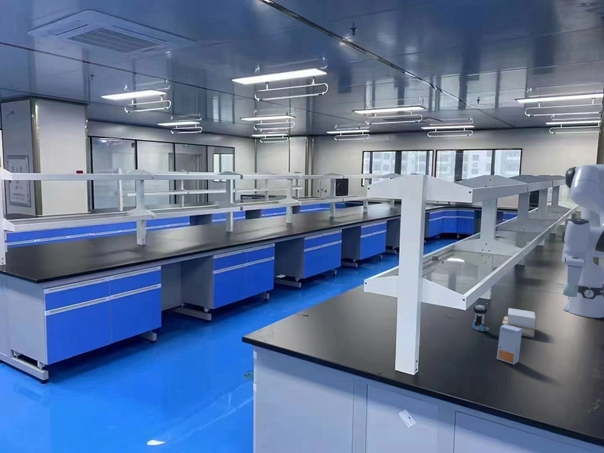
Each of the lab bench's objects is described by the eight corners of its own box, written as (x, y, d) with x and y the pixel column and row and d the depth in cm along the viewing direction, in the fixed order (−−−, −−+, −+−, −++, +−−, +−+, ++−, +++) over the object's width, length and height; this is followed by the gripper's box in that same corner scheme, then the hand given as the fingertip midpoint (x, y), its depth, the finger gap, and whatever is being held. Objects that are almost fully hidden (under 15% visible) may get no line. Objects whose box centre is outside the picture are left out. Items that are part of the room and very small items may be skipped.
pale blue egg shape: (562, 292, 186) (564, 281, 186) (576, 294, 184) (578, 283, 183) (563, 295, 182) (564, 283, 181) (577, 297, 179) (578, 285, 179)
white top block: (507, 316, 192) (508, 308, 192) (533, 321, 188) (534, 312, 187) (507, 323, 183) (508, 314, 183) (534, 328, 179) (535, 318, 178)
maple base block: (504, 324, 194) (504, 315, 194) (534, 330, 188) (535, 321, 188) (501, 332, 184) (502, 323, 183) (533, 338, 178) (534, 329, 177)
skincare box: (496, 359, 154) (499, 326, 153) (501, 356, 157) (504, 323, 156) (514, 365, 150) (518, 331, 149) (519, 361, 153) (522, 328, 152)
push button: (490, 330, 184) (492, 307, 183) (486, 333, 180) (488, 309, 179) (474, 326, 188) (476, 303, 187) (469, 329, 184) (471, 306, 183)
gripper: (565, 253, 191) (561, 284, 193) (566, 261, 174) (561, 295, 175) (582, 255, 188) (578, 287, 190) (585, 263, 171) (580, 298, 172)
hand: (570, 291), depth 183 cm, fingers closed on pale blue egg shape, 5 cm apart
